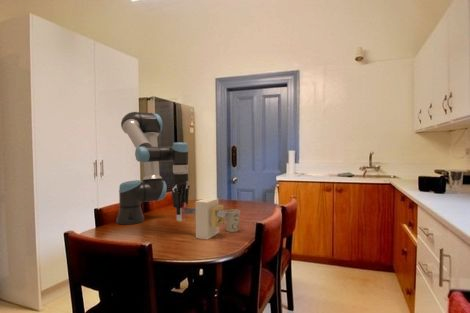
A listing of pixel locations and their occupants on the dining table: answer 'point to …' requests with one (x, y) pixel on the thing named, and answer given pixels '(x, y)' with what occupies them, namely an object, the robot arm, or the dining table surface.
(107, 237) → the dining table surface
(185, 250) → the dining table surface
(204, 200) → the block
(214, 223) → the spacer
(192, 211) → the shaft
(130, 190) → the robot arm
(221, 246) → the dining table surface
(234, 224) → the mug
